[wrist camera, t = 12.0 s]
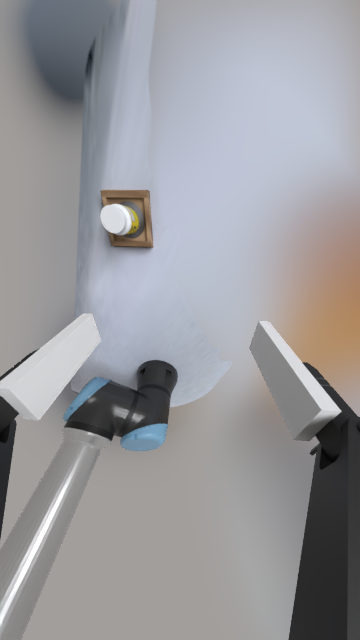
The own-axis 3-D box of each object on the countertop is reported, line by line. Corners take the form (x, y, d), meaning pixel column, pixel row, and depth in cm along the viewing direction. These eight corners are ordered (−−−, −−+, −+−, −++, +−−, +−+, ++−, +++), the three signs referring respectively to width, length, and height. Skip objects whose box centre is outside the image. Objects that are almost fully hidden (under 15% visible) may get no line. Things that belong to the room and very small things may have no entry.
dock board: (153, 246, 36) (151, 247, 34) (115, 245, 36) (111, 246, 34) (149, 191, 30) (146, 189, 29) (105, 190, 31) (100, 188, 29)
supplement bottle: (126, 237, 34) (109, 241, 27) (113, 214, 32) (91, 210, 25) (144, 227, 33) (131, 228, 26) (132, 202, 30) (115, 195, 23)
